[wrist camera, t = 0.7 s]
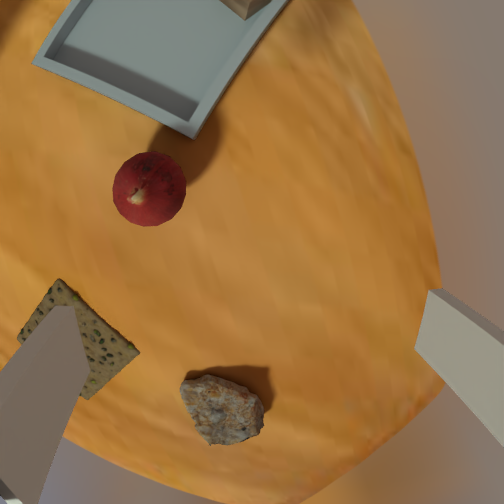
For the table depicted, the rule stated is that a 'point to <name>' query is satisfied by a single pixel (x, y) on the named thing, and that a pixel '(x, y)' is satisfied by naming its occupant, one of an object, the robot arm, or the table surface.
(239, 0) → the walnut cube
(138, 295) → the table surface
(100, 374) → the speckled stone tile
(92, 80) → the dish
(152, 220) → the onion
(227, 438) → the rock
